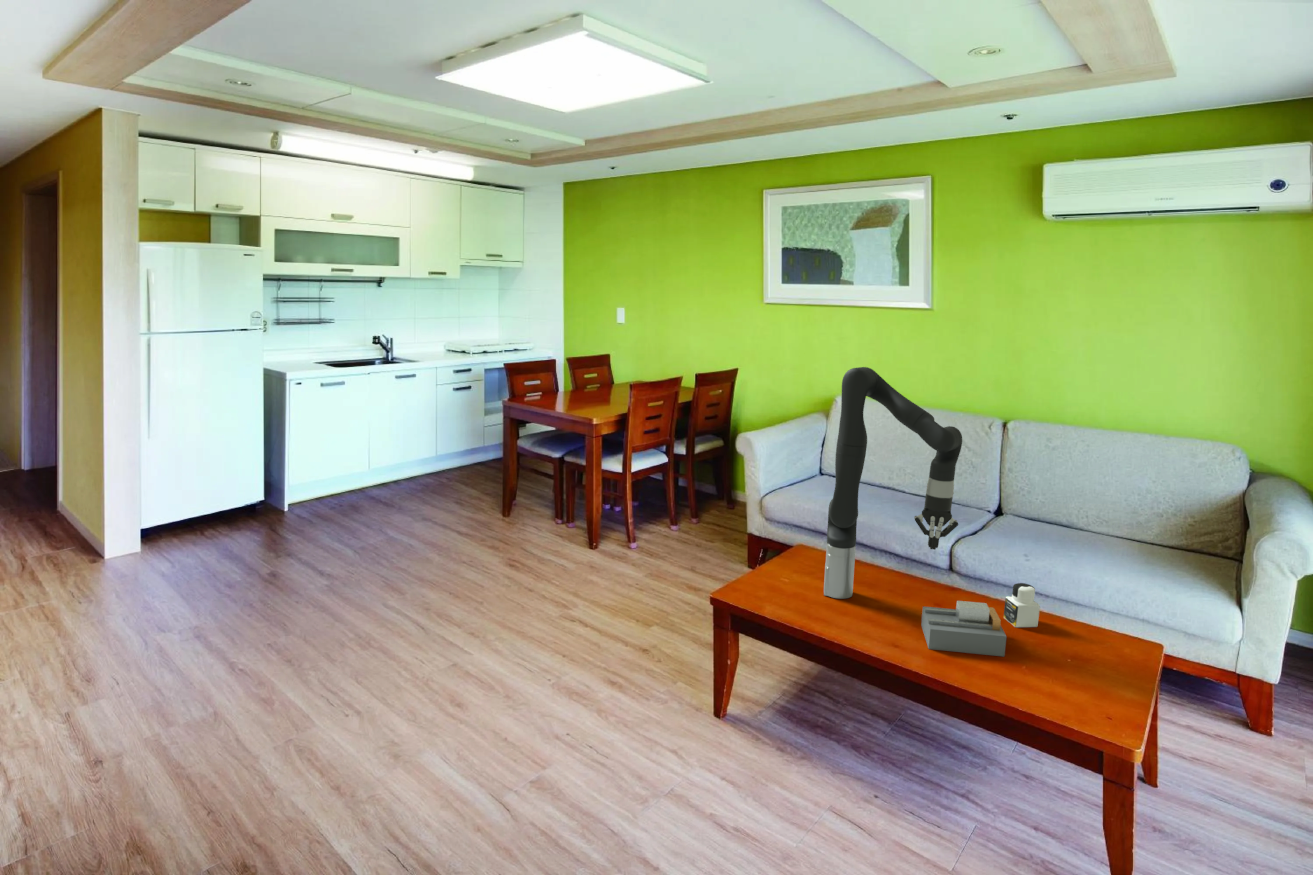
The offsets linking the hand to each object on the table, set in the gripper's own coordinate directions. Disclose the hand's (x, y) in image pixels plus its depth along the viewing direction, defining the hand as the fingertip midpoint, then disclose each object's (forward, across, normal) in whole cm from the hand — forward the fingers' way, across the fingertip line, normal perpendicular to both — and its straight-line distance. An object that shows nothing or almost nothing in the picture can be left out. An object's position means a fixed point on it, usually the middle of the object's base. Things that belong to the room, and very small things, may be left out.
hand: (932, 548), depth 233 cm
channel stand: (+22, -9, +13) cm, 27 cm away
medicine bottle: (+22, -29, -5) cm, 36 cm away
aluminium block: (+16, -11, +13) cm, 23 cm away
